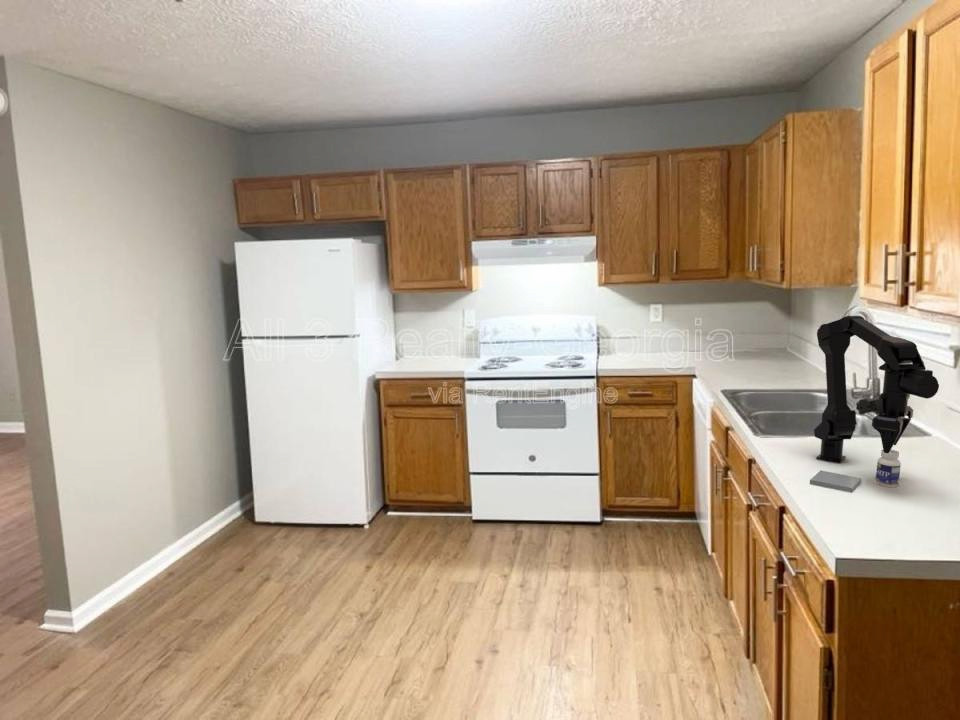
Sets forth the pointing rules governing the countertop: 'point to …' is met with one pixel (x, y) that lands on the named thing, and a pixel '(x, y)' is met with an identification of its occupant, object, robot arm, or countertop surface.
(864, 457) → the countertop surface
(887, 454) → the pill bottle
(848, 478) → the ceramic coaster
